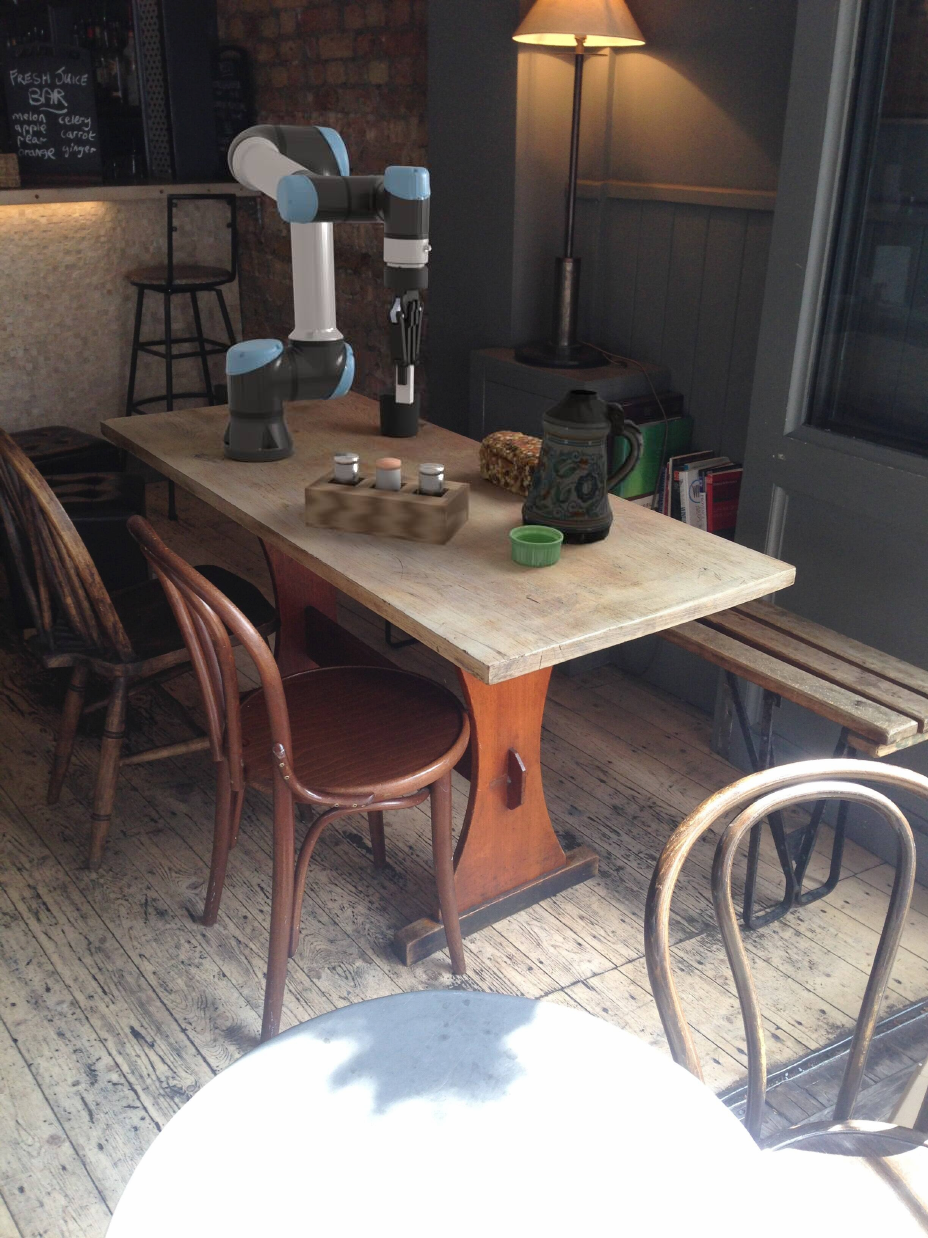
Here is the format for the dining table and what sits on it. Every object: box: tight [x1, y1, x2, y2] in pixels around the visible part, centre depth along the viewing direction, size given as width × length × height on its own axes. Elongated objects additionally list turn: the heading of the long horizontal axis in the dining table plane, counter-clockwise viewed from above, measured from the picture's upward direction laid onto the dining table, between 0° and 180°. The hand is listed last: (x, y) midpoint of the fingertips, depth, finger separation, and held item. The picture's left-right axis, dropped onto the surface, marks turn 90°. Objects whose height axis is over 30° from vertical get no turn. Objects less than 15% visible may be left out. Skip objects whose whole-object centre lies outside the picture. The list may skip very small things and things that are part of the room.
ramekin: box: [508, 525, 563, 568], centre depth 183 cm, size 9×9×4 cm
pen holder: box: [378, 385, 421, 439], centre depth 253 cm, size 9×9×10 cm
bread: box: [478, 430, 542, 497], centre depth 219 cm, size 19×11×10 cm, turn 35°
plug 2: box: [418, 462, 445, 498], centre depth 192 cm, size 4×4×6 cm
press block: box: [304, 468, 471, 546], centre depth 196 cm, size 26×14×7 cm, turn 73°
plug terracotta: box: [375, 457, 402, 492], centre depth 194 cm, size 4×4×6 cm
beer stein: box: [520, 389, 644, 546], centre depth 193 cm, size 16×19×25 cm
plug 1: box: [333, 452, 360, 486], centre depth 196 cm, size 4×4×6 cm
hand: (404, 401), depth 196 cm, fingers closed
